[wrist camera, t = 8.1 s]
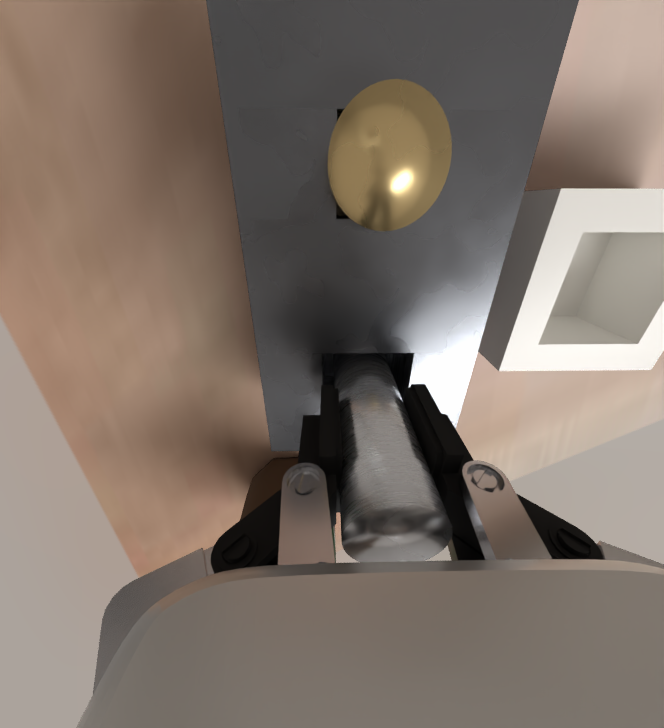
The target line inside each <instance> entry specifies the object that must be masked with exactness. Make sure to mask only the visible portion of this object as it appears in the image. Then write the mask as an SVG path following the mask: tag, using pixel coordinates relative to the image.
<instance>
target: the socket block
mask: <svg viewBox="0 0 664 728" xmlns="http://www.w3.org/2000/svg"><path fill="white" fill-rule="evenodd" d="M578 1H579V0H206V2H207V9H208V16H209V23H210V30H211V37H212V44H213V51H214V58H215V64H216V71H217V78H218V85H219V92H220V99H221V106H222V113H223V120H224V127H225V133H226V140H227V147H228V154H229V161H230V168H231V175H232V182H233V189H234V196H235V202H236V209H237V216H238V223H239V230H240V237H241V244H242V251H243V258H244V265H245V271H246V278H247V285H248V292H249V299H250V306H251V313H252V320H253V327H254V334H255V341H256V347H257V354H258V361H259V368H260V375H261V382H262V389H263V396H264V403H265V410H266V416H267V423H268V430H269V437H270V444H271V451H299V447H300V438H301V429H302V420H303V415H320V403H321V385H333V388H335V384H334V363H333V353H384V355H385V357H386V360H387V362H388V365H389V367H390V370H391V373H392V375H393V378H394V380H395V383H396V385H397V388H398V390H399V393H400V396H401V398H402V401H403V403H404V398H405V392H406V388H407V387H410V386H411V384H425V385H426V387H427V388H428V390H429V392H430V394H431V396H432V397H433V399H434V401H435V403H436V405H437V406H438V408H439V410H440V412H441V414H446V415H447V416H448V417H449V419H450V421H451V422H452V424H453V426H454V427H455V429H456V426H457V422H458V419H459V415H460V412H461V408H462V405H463V401H464V398H465V394H466V391H467V387H468V384H469V380H470V377H471V373H472V370H473V367H474V363H475V360H476V356H477V353H478V349H479V346H480V342H481V339H482V335H483V332H484V328H485V325H486V321H487V318H488V314H489V311H490V307H491V304H492V300H493V297H494V293H495V290H496V287H497V283H498V280H499V276H500V273H501V269H502V266H503V262H504V259H505V255H506V252H507V248H508V245H509V241H510V238H511V234H512V231H513V227H514V224H515V220H516V217H517V213H518V210H519V207H520V203H521V200H522V196H523V193H524V189H525V186H526V182H527V179H528V175H529V172H530V168H531V165H532V161H533V158H534V154H535V151H536V147H537V144H538V140H539V137H540V133H541V130H542V126H543V123H544V120H545V116H546V113H547V109H548V106H549V102H550V99H551V95H552V92H553V88H554V85H555V81H556V78H557V74H558V71H559V67H560V64H561V60H562V57H563V53H564V50H565V46H566V43H567V40H568V36H569V33H570V29H571V26H572V22H573V19H574V15H575V12H576V8H577V5H578ZM389 79H402V80H408V81H411V82H414V83H416V84H418V85H420V86H422V87H423V88H425V89H426V90H427V91H429V92H430V93H431V94H432V95H433V96H434V97H435V98H436V100H437V101H438V103H439V104H440V105H441V107H442V109H443V111H444V113H445V115H446V118H447V121H448V124H449V128H450V133H451V141H452V155H451V163H450V168H449V172H448V176H447V179H446V182H445V184H444V186H443V188H442V191H441V192H440V194H439V196H438V198H437V199H436V201H435V202H434V203H433V205H432V206H431V207H430V208H429V209H428V211H427V212H426V213H425V214H423V215H422V216H421V217H420V218H419V219H417V220H416V221H414V222H413V223H411V224H409V225H407V226H405V227H403V228H400V229H397V230H392V231H375V230H371V229H368V228H365V227H363V226H361V225H359V224H357V223H355V222H354V221H353V220H351V219H350V218H349V217H348V216H347V215H346V214H345V213H344V212H343V211H342V210H341V208H340V207H339V206H338V204H337V202H336V200H335V198H334V196H333V193H332V191H331V187H330V183H329V178H328V151H329V145H330V140H331V137H332V133H333V130H334V128H335V125H336V123H337V121H338V119H339V117H340V115H341V113H342V112H343V110H344V109H345V108H346V106H347V105H348V104H349V103H350V101H351V100H352V99H353V98H354V97H355V96H356V95H357V94H359V93H360V92H361V91H362V90H364V89H365V88H367V87H369V86H370V85H373V84H375V83H377V82H380V81H384V80H389Z"/></svg>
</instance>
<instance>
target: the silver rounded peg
mask: <svg viewBox="0 0 664 728" xmlns="http://www.w3.org/2000/svg"><path fill="white" fill-rule="evenodd" d="M333 363H334V384H335V388H338V391H339V406H340V421H341V436H342V452H343V467H342V479H341V482H340V487H339V492H340V514H341V536H342V545H343V548H344V550H345V552H346V553H347V554H348V555H349V556H350V557H352V558H353V559H355V560H357V561H359V562H405V561H425V560H427V559H430V558H431V557H433V556H435V555H437V554H438V553H439V552H441V551H442V550H443V549H444V548H445V547H446V546H447V545H448V543H449V542H450V540H451V537H452V526H451V523H450V521H449V518H448V515H447V513H446V510H445V508H444V505H443V503H442V500H441V498H440V495H439V492H438V490H437V487H436V485H435V482H434V480H433V477H432V475H431V472H430V469H429V467H428V464H427V462H426V459H425V457H424V454H423V452H422V449H421V447H420V444H419V441H418V439H417V436H416V434H415V431H414V429H413V426H412V424H411V421H410V418H409V416H408V413H407V411H406V408H405V406H404V403H403V401H402V398H401V396H400V393H399V390H398V388H397V385H396V383H395V380H394V378H393V375H392V373H391V370H390V367H389V365H388V362H387V360H386V357H385V355H384V353H333Z"/></svg>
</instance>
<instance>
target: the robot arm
mask: <svg viewBox="0 0 664 728" xmlns="http://www.w3.org/2000/svg"><path fill="white" fill-rule="evenodd" d="M404 406H405V408H406V411H407V413H408V416H409V418H410V421H411V424H412V426H413V429H414V431H415V434H416V436H417V439H418V441H419V444H420V447H421V449H422V452H423V454H424V457H425V459H426V462H427V464H428V467H429V469H430V472H431V475H432V477H433V480H434V482H435V485H436V487H437V490H438V492H439V495H440V498H441V500H442V503H443V505H444V508H445V510H446V513H447V515H448V518H449V521H450V523H451V526H452V537H451V540H450V542H449V543H448V548H449V551H450V555H451V559H452V561H405V562H361V563H335V557H334V548H333V538H332V528H333V527H334V525H335V524H336V512H340V492H339V487H340V482H341V479H342V467H343V452H342V436H341V421H340V406H339V391H338V388H333V385H321V403H320V415H303V420H302V429H301V438H300V447H299V456H298V464H296V465H294V466H292V467H291V468H290V469H288V470H287V471H286V473H285V475H284V476H283V480H282V488H281V489H280V490H279V491H277V492H276V493H275V494H274V495H272V496H271V497H270V498H268V499H267V500H266V501H265V502H263V503H262V504H261V505H259V506H258V507H257V508H256V509H254V510H253V511H252V512H251V513H249V514H248V515H247V516H245V517H244V518H243V519H242V520H240V521H239V522H238V523H236V524H235V525H234V526H233V527H231V528H230V529H229V530H227V531H226V532H225V533H224V534H223V535H222V536H221V537H220V538H219V539H218V540H217V542H216V544H215V545H214V546H213V547H210V548H208V549H206V550H204V551H203V548H201V549H199V550H196V551H194V552H192V553H190V554H188V555H186V556H184V557H182V558H180V559H178V560H176V561H173V562H171V563H169V564H167V565H165V566H163V567H161V568H159V569H157V570H155V571H153V572H150V573H148V574H146V575H144V576H142V577H140V578H138V579H136V580H134V581H132V582H130V583H129V584H128V585H126V586H124V587H123V588H122V589H121V590H120V591H119V592H118V593H117V594H116V595H115V596H114V597H113V598H112V600H111V601H110V603H109V604H108V606H107V608H106V609H105V613H104V616H103V619H102V627H101V635H100V642H99V650H98V658H97V666H96V675H95V682H94V690H93V696H92V698H91V700H90V702H89V704H88V706H87V708H86V710H85V712H84V714H83V716H82V717H81V720H80V722H79V724H78V726H77V728H664V564H660V563H658V562H655V561H653V560H650V559H647V558H645V557H642V556H639V555H637V554H634V553H631V552H629V551H626V550H623V549H620V548H617V547H615V546H612V545H610V544H607V543H604V542H602V541H599V542H598V543H597V544H596V543H595V542H594V541H593V540H592V539H591V538H590V537H589V536H588V535H587V534H586V533H584V532H583V531H581V530H580V529H578V528H577V527H575V526H574V525H572V524H570V523H568V522H566V521H565V520H563V519H561V518H559V517H557V516H556V515H554V514H552V513H550V512H548V511H547V510H545V509H543V508H541V507H539V506H538V505H536V504H534V503H532V502H530V501H529V500H527V499H525V498H523V497H521V496H520V495H518V494H516V493H515V491H514V489H513V487H512V486H511V484H510V482H509V480H508V478H507V477H506V476H505V474H504V473H503V472H502V471H501V470H499V469H498V468H497V467H495V466H493V465H492V464H489V463H487V462H484V461H478V460H477V461H474V460H473V459H472V457H471V455H470V453H469V452H468V450H467V448H466V446H465V445H464V443H463V441H462V440H461V438H460V436H459V434H458V433H457V431H456V429H455V427H454V426H453V424H452V422H451V421H450V419H449V417H448V416H447V415H446V414H441V412H440V410H439V408H438V406H437V405H436V403H435V401H434V399H433V397H432V396H431V394H430V392H429V390H428V388H427V387H426V385H425V384H411V386H410V387H407V388H406V392H405V398H404Z"/></svg>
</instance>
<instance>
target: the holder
mask: <svg viewBox="0 0 664 728" xmlns="http://www.w3.org/2000/svg"><path fill="white" fill-rule="evenodd" d="M663 351H664V189H575V188H561V189H547V190H534V191H524V193H523V196H522V200H521V203H520V207H519V210H518V213H517V217H516V220H515V224H514V227H513V231H512V234H511V238H510V241H509V245H508V248H507V252H506V255H505V259H504V262H503V266H502V269H501V273H500V276H499V280H498V283H497V287H496V290H495V293H494V297H493V300H492V304H491V307H490V311H489V314H488V318H487V321H486V325H485V328H484V332H483V335H482V339H481V342H480V346H479V349H478V352H480V353H481V354H482V355H483V356H484V357H485V358H486V359H487V360H488V361H489V362H490V363H491V364H492V365H493V366H494V367H495V368H496V369H497V370H498V371H567V370H651V369H652V367H653V366H654V364H655V363H656V361H657V360H658V358H659V357H660V355H661V354H662V352H663Z"/></svg>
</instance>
